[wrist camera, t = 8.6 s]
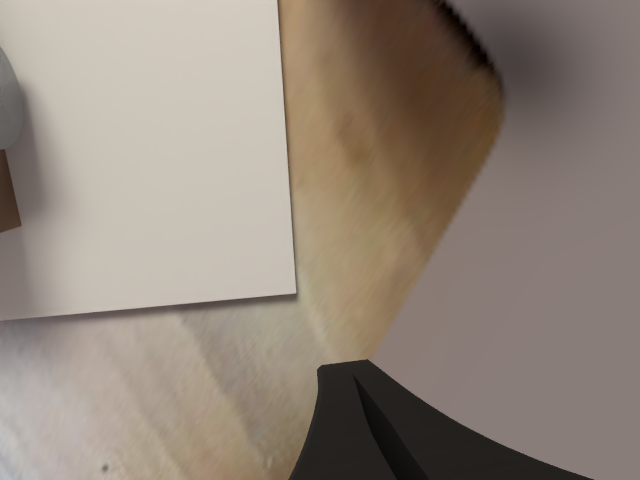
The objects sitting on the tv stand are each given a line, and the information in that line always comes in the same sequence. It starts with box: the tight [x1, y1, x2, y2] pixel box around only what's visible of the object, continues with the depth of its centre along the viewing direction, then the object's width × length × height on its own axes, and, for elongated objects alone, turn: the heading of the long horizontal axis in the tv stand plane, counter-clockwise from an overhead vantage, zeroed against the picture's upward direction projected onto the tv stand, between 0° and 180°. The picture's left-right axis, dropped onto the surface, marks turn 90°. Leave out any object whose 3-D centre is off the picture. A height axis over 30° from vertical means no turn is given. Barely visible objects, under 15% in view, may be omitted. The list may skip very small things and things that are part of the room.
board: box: [0, 0, 296, 321], centre depth 16 cm, size 16×17×1 cm
